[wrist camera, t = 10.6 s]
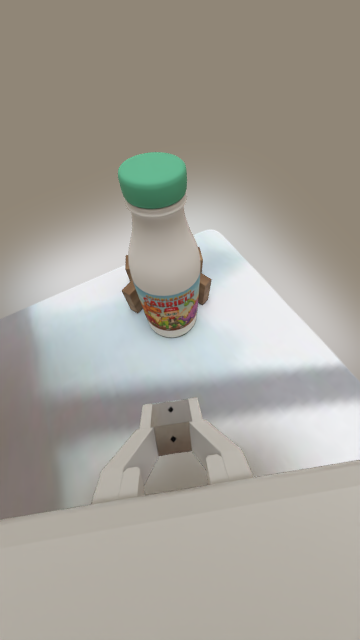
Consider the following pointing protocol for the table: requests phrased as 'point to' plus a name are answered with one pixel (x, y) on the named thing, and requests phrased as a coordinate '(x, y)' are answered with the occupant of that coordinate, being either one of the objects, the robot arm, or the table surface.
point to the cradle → (134, 299)
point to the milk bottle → (161, 241)
